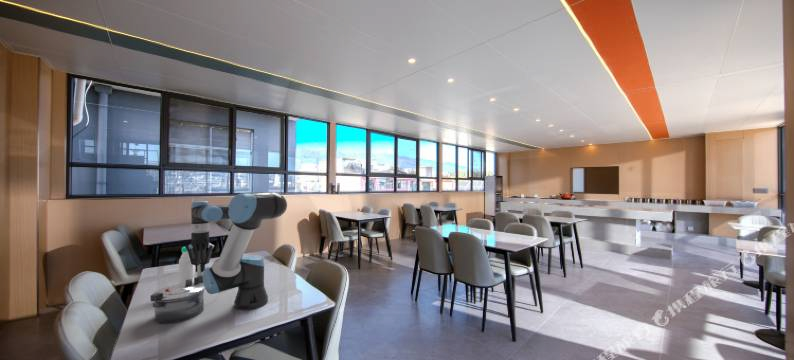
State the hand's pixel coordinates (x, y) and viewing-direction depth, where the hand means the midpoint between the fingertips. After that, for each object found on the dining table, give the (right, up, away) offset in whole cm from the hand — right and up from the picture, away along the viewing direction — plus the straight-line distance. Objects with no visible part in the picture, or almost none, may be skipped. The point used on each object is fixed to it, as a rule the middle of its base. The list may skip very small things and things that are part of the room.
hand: (200, 278), depth 147 cm
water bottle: (-17, -13, +14) cm, 25 cm away
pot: (0, -12, -11) cm, 16 cm away
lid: (0, -2, -11) cm, 11 cm away
